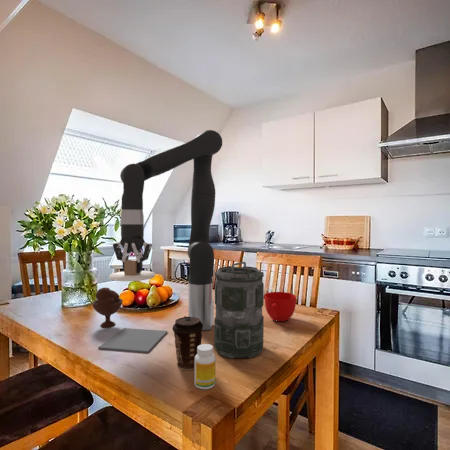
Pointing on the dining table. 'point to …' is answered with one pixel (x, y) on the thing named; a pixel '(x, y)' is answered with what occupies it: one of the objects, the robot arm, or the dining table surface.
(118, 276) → the lid
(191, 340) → the coffee cup
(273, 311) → the ceramic cup
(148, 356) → the dining table surface
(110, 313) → the ice cream bowl
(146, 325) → the dining table surface
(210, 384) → the supplement bottle
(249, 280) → the canister
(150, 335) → the mat
